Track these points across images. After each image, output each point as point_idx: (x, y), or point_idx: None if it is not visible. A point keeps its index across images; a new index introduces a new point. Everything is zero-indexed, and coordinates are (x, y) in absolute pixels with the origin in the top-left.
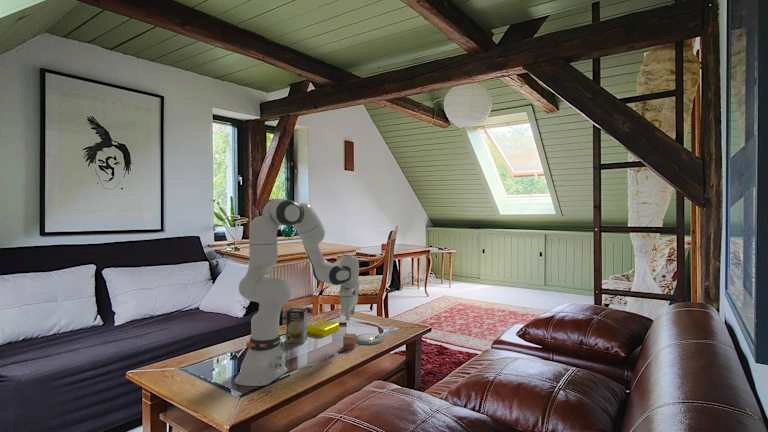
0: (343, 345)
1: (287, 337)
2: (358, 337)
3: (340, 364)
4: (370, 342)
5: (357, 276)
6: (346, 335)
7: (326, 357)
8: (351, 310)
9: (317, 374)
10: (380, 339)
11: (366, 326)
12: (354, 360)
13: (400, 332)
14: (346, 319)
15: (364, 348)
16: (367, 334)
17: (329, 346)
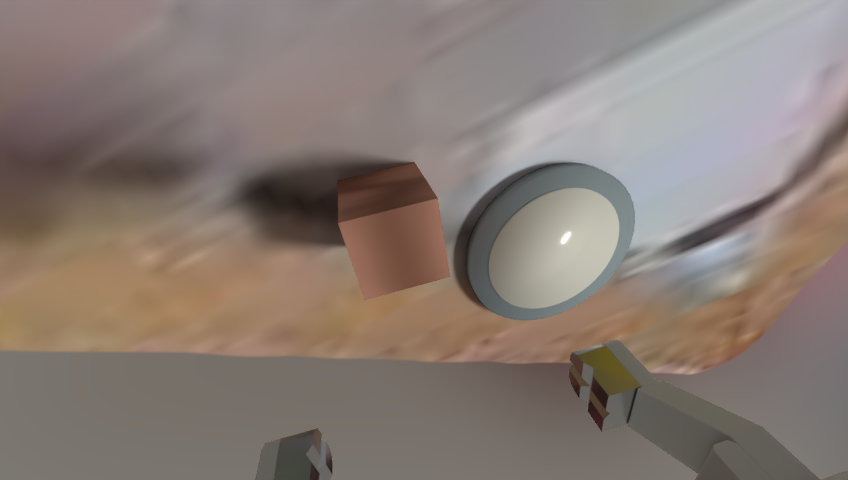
0: (338, 192)
1: None
2: (551, 196)
3: (66, 301)
4: (481, 293)
5: None
6: (381, 232)
7: (90, 149)
8: (636, 400)
9: None
10: (540, 312)
11: (809, 116)
12: (195, 331)
13: (671, 320)
14: (268, 459)
15: None
16: (614, 221)
17: (339, 38)
